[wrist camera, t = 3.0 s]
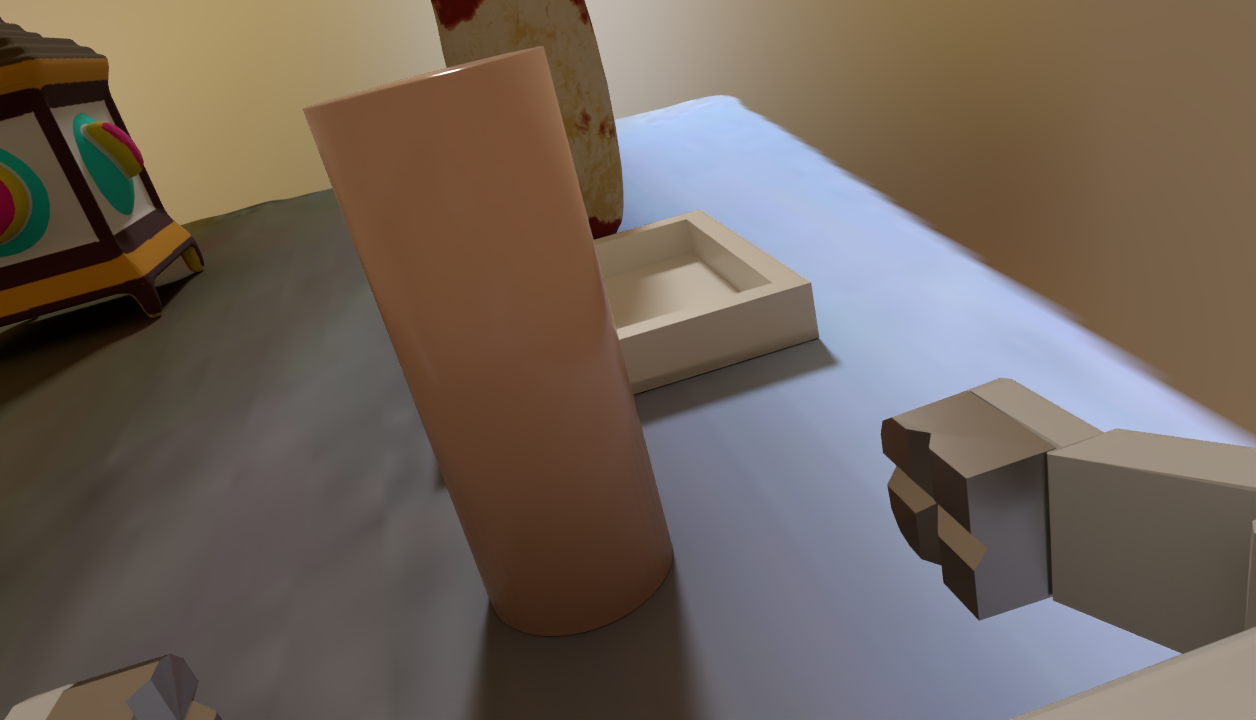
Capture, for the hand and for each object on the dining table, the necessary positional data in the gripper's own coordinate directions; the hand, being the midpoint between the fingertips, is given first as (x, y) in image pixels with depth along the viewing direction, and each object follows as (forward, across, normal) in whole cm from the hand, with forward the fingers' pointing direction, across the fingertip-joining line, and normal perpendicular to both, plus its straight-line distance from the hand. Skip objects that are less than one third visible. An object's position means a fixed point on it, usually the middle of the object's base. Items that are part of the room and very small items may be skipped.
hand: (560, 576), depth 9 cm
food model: (+48, -5, +9) cm, 49 cm away
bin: (+30, -4, +9) cm, 32 cm away
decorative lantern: (+70, +37, +8) cm, 80 cm away
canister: (+12, 0, +9) cm, 15 cm away
